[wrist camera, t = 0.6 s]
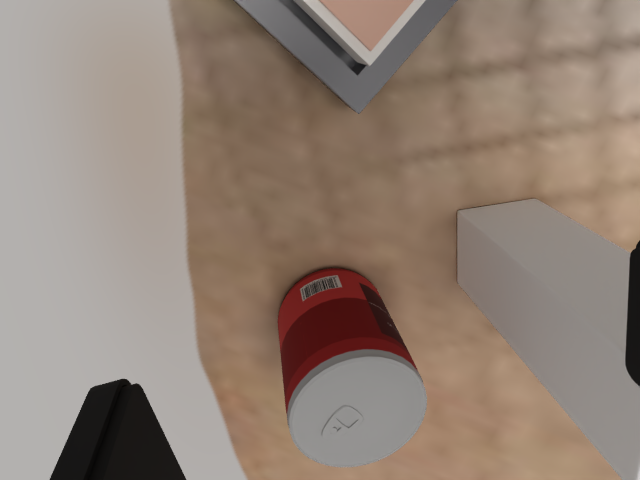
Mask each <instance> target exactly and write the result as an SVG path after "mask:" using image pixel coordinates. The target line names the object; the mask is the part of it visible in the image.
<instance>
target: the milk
mask: <svg viewBox="0 0 640 480" xmlns="http://www.w3.org/2000/svg"><path fill="white" fill-rule="evenodd" d="M630 254H631V253H630V252H628V251H626V250H624V249H623V248H621V247H619V246H617V245H616V244H614V243H612V242H611V241H609V240H607V239H605V238H604V237H602V236H600V235H598V234H597V233H595V232H593V231H591V230H590V229H588V228H586V227H584V226H583V225H581V224H579V223H578V222H576V221H574V220H572V219H571V218H569V217H567V216H565V215H564V214H562V213H560V212H558V211H557V210H555V209H553V208H551V207H550V206H548V205H546V204H545V203H543V202H541V201H539V200H538V199H528V200H521V201H515V202H509V203H502V204H496V205H489V206H483V207H477V208H470V209H464V210H458V211H457V283H458V284H459V285H460V287H461V288H462V289H463V290H464V291H465V293H466V294H467V295H468V296H469V297H470V299H471V300H472V301H473V302H474V303H475V304H476V306H477V307H478V308H479V309H480V310H481V312H482V313H483V314H484V315H485V316H486V318H487V319H488V320H489V321H490V322H491V324H492V325H493V326H494V327H495V328H496V330H497V331H498V332H499V333H500V334H501V336H502V337H503V338H504V339H505V340H506V341H507V343H508V344H509V345H510V346H511V347H512V349H513V350H514V351H515V352H516V353H517V355H518V356H519V357H520V358H521V359H522V361H523V362H524V363H525V364H526V365H527V367H528V368H529V369H530V370H531V371H532V372H533V374H534V375H535V376H536V377H537V378H538V380H539V381H540V382H541V383H542V384H543V386H544V387H545V388H546V389H547V390H548V392H549V393H550V394H551V395H552V396H553V398H554V399H555V400H556V401H557V402H558V404H559V405H560V406H561V407H562V408H563V409H564V411H565V412H566V413H567V414H568V415H569V417H570V418H571V419H572V420H573V421H574V423H575V424H576V425H577V426H578V427H579V429H580V430H581V431H582V432H583V433H584V435H585V436H586V437H587V438H588V439H589V440H590V442H591V443H592V444H593V445H594V446H595V448H596V449H597V450H598V451H599V452H600V454H601V455H602V456H603V457H604V458H605V460H606V461H607V462H608V463H609V464H610V466H611V467H612V468H613V469H614V470H615V472H616V473H617V474H618V475H619V476H620V477H621V479H622V480H640V386H638V385H637V384H636V383H635V382H634V381H633V380H632V378H631V377H630V375H629V374H628V371H627V369H626V366H625V352H626V330H627V308H628V286H629V264H630Z"/></svg>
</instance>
